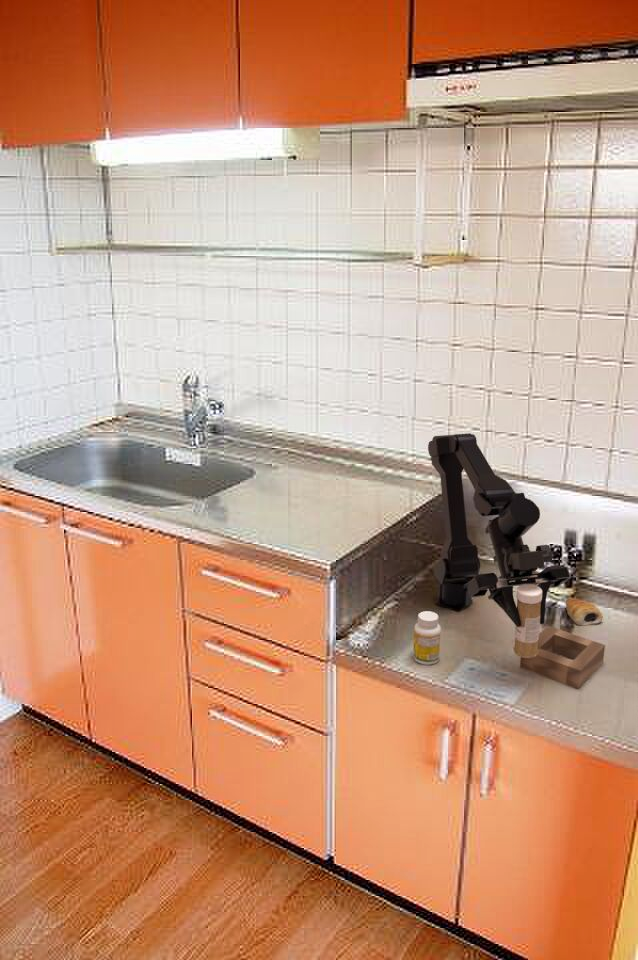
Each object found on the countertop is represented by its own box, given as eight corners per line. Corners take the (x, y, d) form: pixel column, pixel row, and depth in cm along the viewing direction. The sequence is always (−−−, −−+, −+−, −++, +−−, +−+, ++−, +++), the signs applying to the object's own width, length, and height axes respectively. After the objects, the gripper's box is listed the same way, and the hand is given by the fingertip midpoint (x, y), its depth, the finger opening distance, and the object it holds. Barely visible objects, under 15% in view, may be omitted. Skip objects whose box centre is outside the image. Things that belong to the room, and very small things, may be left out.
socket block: (519, 667, 156) (521, 649, 154) (546, 642, 164) (548, 625, 163) (578, 689, 148) (580, 670, 147) (602, 662, 157) (605, 645, 156)
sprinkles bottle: (510, 647, 150) (513, 584, 146) (533, 645, 151) (537, 582, 146) (518, 660, 146) (521, 595, 142) (542, 658, 146) (546, 593, 142)
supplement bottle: (435, 667, 156) (437, 624, 153) (409, 661, 158) (411, 619, 155) (442, 654, 160) (445, 612, 157) (417, 649, 162) (419, 607, 159)
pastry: (557, 607, 180) (559, 592, 178) (585, 605, 181) (586, 590, 179) (576, 627, 171) (578, 612, 170) (605, 625, 172) (607, 609, 171)
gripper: (477, 535, 142) (500, 618, 136) (571, 525, 146) (597, 606, 140) (458, 556, 152) (478, 635, 146) (546, 547, 156) (569, 623, 150)
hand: (530, 625), depth 145 cm, fingers closed on sprinkles bottle, 4 cm apart
